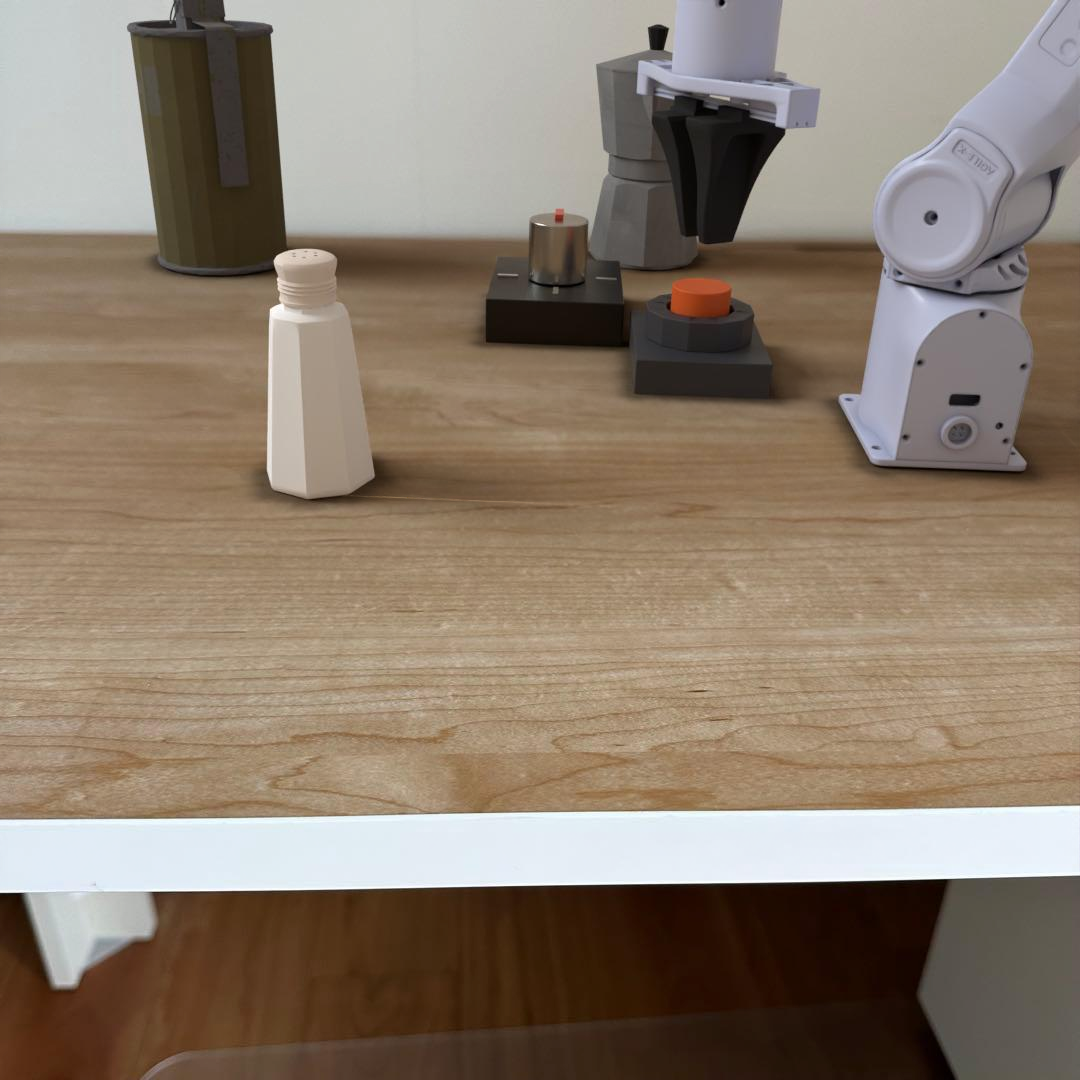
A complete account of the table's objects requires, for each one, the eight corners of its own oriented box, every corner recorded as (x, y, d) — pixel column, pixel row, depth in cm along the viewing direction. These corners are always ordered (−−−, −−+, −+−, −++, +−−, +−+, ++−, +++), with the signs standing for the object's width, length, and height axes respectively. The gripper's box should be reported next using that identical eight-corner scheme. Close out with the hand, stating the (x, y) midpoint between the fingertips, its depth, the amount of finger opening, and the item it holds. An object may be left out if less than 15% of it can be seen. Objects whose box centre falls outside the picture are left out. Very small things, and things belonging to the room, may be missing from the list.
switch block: (768, 400, 67) (777, 334, 65) (633, 394, 68) (638, 329, 66) (747, 345, 76) (754, 287, 74) (628, 341, 76) (632, 282, 74)
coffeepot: (702, 279, 90) (725, 33, 82) (584, 274, 91) (595, 28, 82) (693, 234, 104) (712, 19, 96) (590, 230, 104) (601, 15, 96)
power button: (731, 323, 69) (735, 294, 68) (672, 321, 69) (674, 292, 68) (725, 305, 72) (728, 278, 71) (668, 303, 72) (670, 276, 71)
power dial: (585, 286, 77) (588, 222, 75) (526, 284, 77) (528, 220, 75) (585, 271, 80) (588, 209, 78) (529, 269, 80) (530, 207, 78)
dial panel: (621, 348, 75) (624, 301, 74) (485, 343, 75) (485, 296, 74) (617, 300, 85) (620, 258, 83) (497, 296, 85) (497, 254, 83)
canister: (146, 250, 94) (109, -19, 84) (270, 239, 98) (248, -18, 89) (175, 283, 86) (138, -12, 76) (309, 269, 90) (289, -11, 81)
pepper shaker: (338, 445, 60) (325, 234, 55) (397, 480, 56) (389, 258, 51) (245, 471, 57) (221, 250, 51) (300, 510, 53) (281, 277, 48)
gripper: (880, -6, 58) (839, 260, 64) (712, -20, 69) (692, 208, 75) (769, -7, 55) (738, 273, 61) (613, -21, 66) (600, 217, 72)
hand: (706, 238), depth 68 cm, fingers closed
